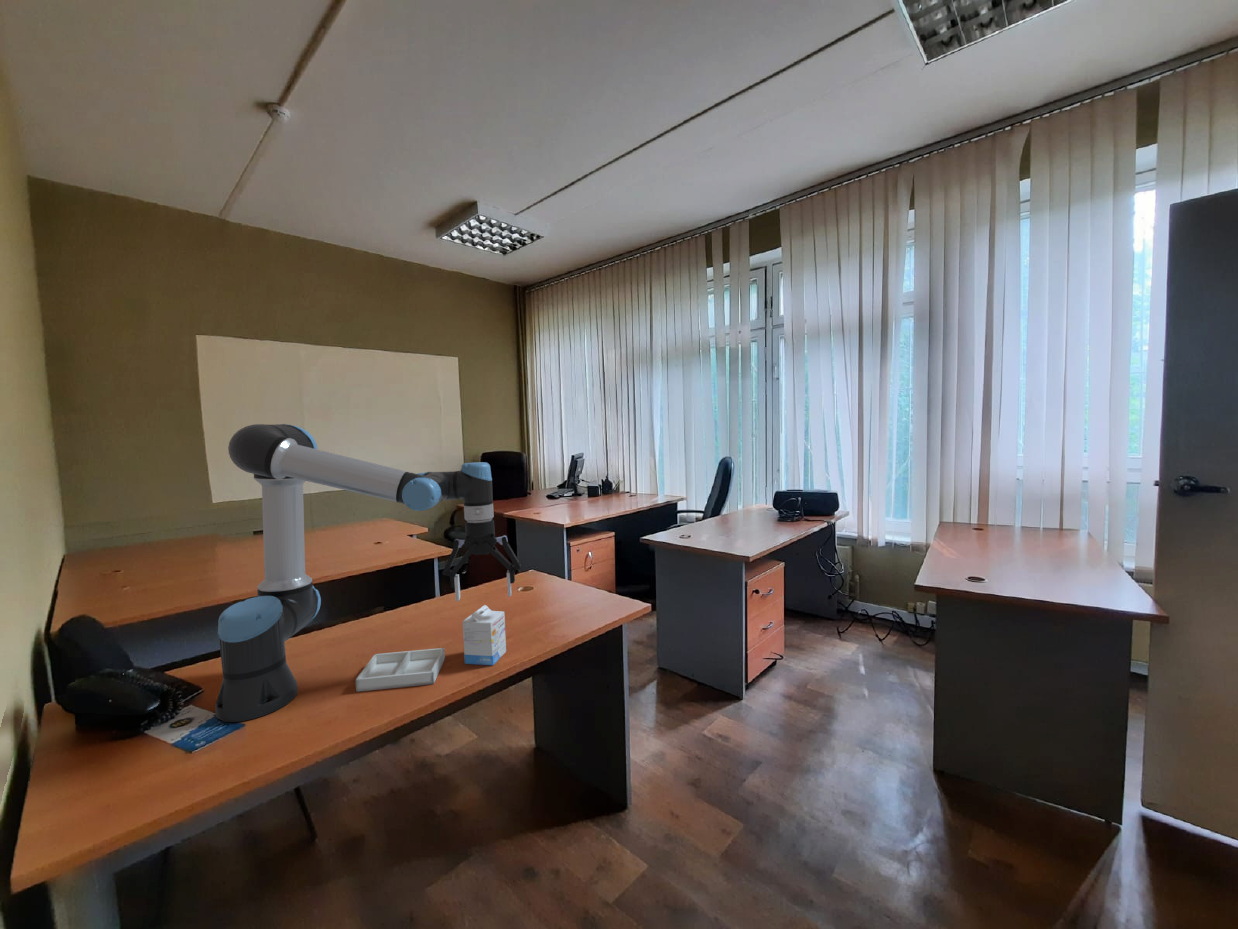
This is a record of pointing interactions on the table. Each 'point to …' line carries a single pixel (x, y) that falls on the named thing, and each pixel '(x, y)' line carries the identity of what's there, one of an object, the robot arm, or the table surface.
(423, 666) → the caddy
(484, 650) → the ink box
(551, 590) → the table surface
